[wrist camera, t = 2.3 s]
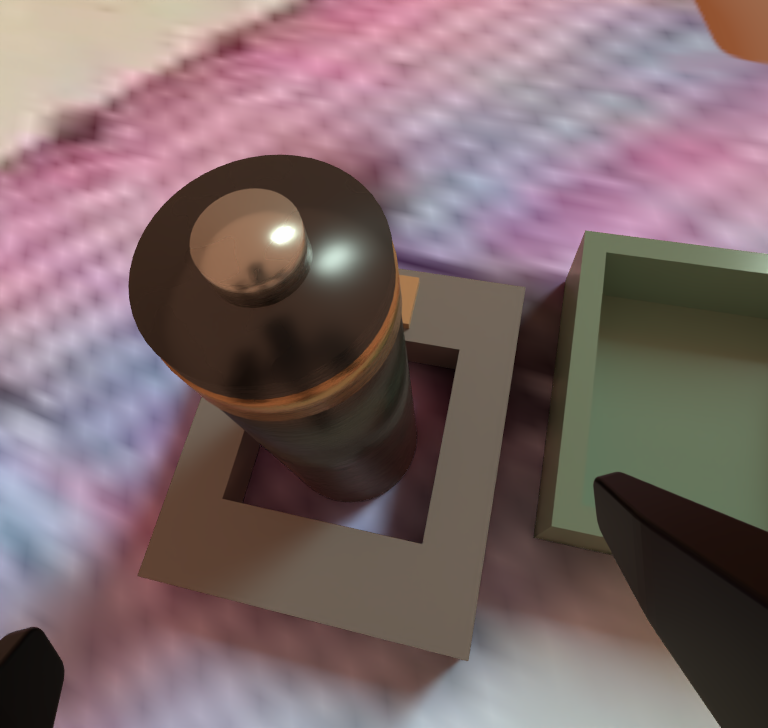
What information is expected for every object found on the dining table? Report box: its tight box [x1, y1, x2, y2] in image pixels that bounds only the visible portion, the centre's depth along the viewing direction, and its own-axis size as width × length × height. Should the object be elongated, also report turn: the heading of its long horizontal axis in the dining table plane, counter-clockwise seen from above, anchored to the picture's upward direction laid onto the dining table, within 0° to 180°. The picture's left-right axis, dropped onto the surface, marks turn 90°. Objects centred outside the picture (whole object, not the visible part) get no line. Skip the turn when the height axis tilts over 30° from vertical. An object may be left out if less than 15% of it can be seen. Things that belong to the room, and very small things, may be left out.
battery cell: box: [129, 155, 417, 502], centre depth 16 cm, size 5×5×13 cm
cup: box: [533, 231, 768, 555], centre depth 20 cm, size 11×11×4 cm
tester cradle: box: [138, 269, 525, 661], centre depth 21 cm, size 13×11×2 cm
